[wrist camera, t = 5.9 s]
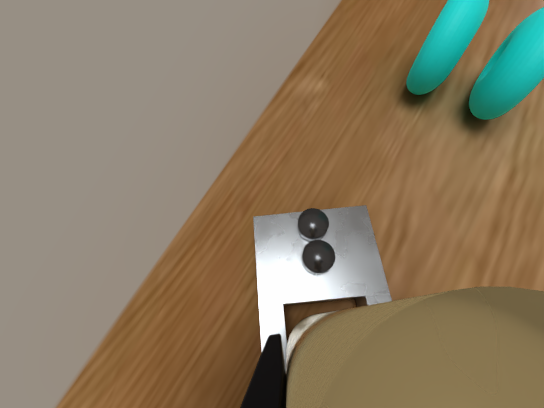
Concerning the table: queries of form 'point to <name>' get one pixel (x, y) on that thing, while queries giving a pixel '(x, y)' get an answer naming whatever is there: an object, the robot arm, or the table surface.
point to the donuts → (499, 70)
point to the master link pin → (422, 353)
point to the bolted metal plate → (315, 263)
